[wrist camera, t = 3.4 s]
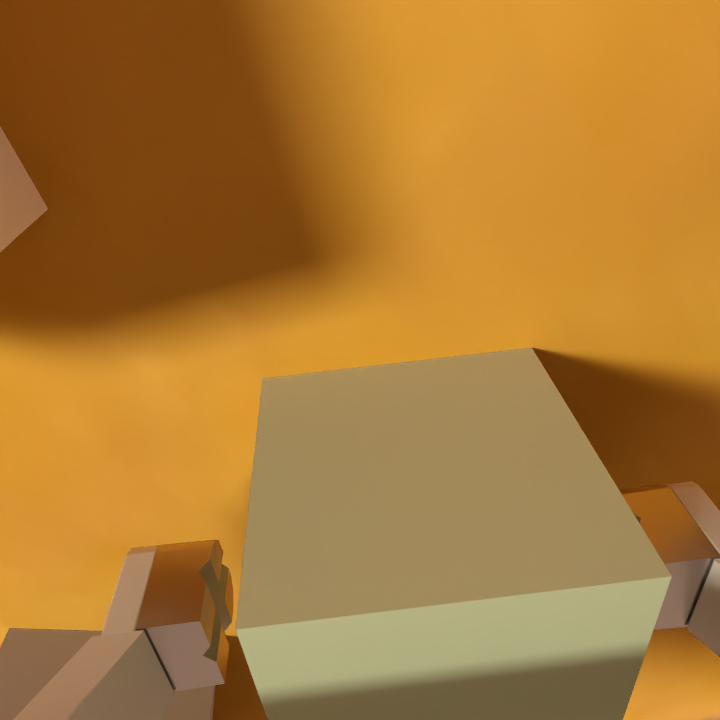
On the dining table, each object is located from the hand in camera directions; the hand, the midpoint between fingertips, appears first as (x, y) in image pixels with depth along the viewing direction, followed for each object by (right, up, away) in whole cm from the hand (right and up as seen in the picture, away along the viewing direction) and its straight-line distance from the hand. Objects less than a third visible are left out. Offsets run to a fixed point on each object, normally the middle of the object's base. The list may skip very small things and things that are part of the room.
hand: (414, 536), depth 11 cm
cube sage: (0, +1, +2) cm, 2 cm away
